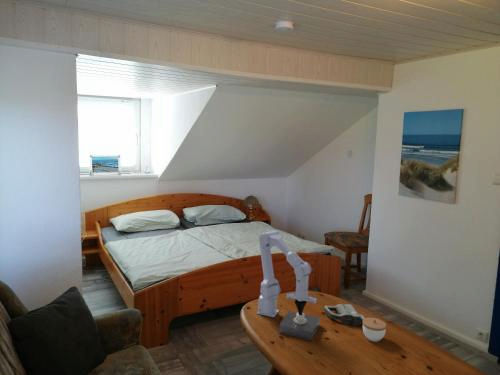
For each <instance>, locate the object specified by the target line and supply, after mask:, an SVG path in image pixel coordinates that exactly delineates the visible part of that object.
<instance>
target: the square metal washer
mask: <svg viewBox="0 0 500 375" xmlns="http://www.w3.org/2000/svg"><path fill="white" fill-rule="evenodd" d="M296 313H298V311H297V312H295V311H292V310H288V312H287V313H286V315H285V316H284V317H283V319H282V320H281V321H280V324H279V325H278V326H279V327H278V333H279V334H283V335H287V336H292V337H296V338H299V339H304V340H308V341H313V339H314V337H315V335H316V333H317V331H318V329H319V327H320V317H319V316H314V315H311V314H310V315H309V314H306V313H304V314H305V316H304V318H305V319H306V320H307V323H306V324H304V325H303V324H302V325H300V324H296V323H294V321H293V319H294V318H295V317H296Z"/></svg>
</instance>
